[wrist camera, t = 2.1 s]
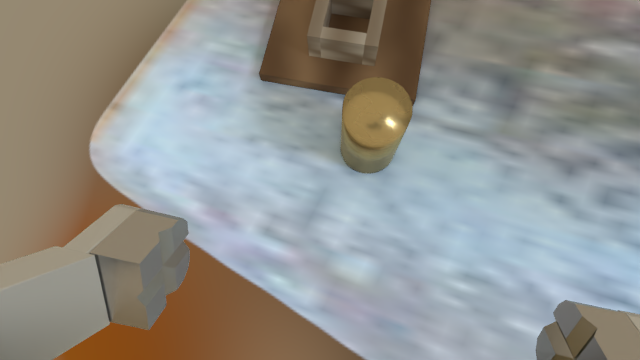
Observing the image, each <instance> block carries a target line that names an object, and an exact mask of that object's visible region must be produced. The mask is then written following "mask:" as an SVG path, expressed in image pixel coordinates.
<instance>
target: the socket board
mask: <svg viewBox="0 0 640 360" xmlns="http://www.w3.org/2000/svg"><path fill="white" fill-rule="evenodd" d="M430 4H431V0H280V3H279V6H278V10H277V13H276V17H275V20H274V24H273V27H272V31H271V34H270V38H269V41H268V45H267V48H266V51H265V55H264V58H263V62H262V65H261V69H260V72H259V75H260V78H261V80H263V81H268V82H274V83H280V84H286V85H292V86H298V87H304V88H309V89H315V90H321V91H327V92H333V93H339V94H345V95H346V94H347V92H348V91H349V89H350V88H351V87H352V86H353V85H355V84H356V83H357V82H359V81H361V80H364V79H367V78H373V77H381V78H386V79H390V80H392V81H394V82H396V83H398V84H399V85H400V86H402V87H403V88H404V89H405V91H406V92H407V93H408V95H409V97H410V99H411V102H412V106H413V105H414V102H415V100H416V93H417V87H418V81H419V74H420V68H421V61H422V55H423V49H424V42H425V36H426V29H427V23H428V16H429V10H430Z"/></svg>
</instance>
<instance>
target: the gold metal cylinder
mask: <svg viewBox="0 0 640 360" xmlns="http://www.w3.org/2000/svg"><path fill="white" fill-rule="evenodd" d="M411 117H412V102H411V99H410V97H409V95H408V93H407V92H406V91H405V89H404V88H403V87H402V86H400V85H399V84H398V83H396V82H394V81H392V80H390V79H386V78H381V77H373V78H367V79H364V80H361V81H359V82H357V83H356V84H355V85H353V86H352V87H351V88H350V89H349V91H348V92H347V94H346V96H345V98H344V101H343V110H342V129H341V154H342V157H343V159H344V161H345V162H346V164H347V165H348V166H349V167H351V168H352V169H353V170H355V171H358V172H361V173H376V172H379V171H381V170H383V169H384V168H385V167H387V166H388V165H389V163H390V162H391V160H392V159H393V156H394V154H395V152H396V150H397V148H398V146H399V144H400V141H401V139H402V137H403V135H404V133H405V131H406V129H407V126H408V124H409V122H410V120H411Z"/></svg>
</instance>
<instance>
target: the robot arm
mask: <svg viewBox="0 0 640 360" xmlns="http://www.w3.org/2000/svg"><path fill="white" fill-rule="evenodd" d="M187 235H188V224H187V221H186V220H185V219H183V218H180V217H175V216H171V215H167V214H163V213H159V212H154V211H150V210H146V209H140V208H136V207H132V206H127V205H123V204H121V205H115V206H114V207H112V208H111V209H110V210H109V211H107V212H106V213H105V214H104V215H102V216H101V217H100V218H99V219H98V220H96V221H95V222H94V223H93V224H91V225H90V226H89V227H88V228H86V229H85V230H84V231H83V232H82V233H80V234H79V235H78V236H77V237H75V238H74V239H73V240H72V241H70V242H69V243H68V244H67V245H65V246H64V247H63V248H61V247H57V246H55V247H52V248H48V249H45V250H42V251H40V252H36V253H33V254H30V255H27V256H24V257H21V258H18V259H15V260H12V261H9V262H6V263H3V264H0V360H52V359H54V358H56V357H57V356H59V355H61V354H62V353H64V352H65V351H67V350H69V349H70V348H72V347H74V346H75V345H77V344H78V343H80V342H82V341H83V340H85V339H86V338H88V337H90V336H91V335H93V334H95V333H96V332H98V331H99V330H101V329H103V328H104V327H106V326H107V325H109V324H110V322H113V323H118V324H123V325H128V326H132V327H137V328H142V329H147V330H149V329H150V328H151V326H152V325H153V324H154V322H155V321H156V319H157V318H158V316H159V315H160V314H161V312H162V311H163V309H164V308H165V306H166V297H165V296H166V295H167V294H169V293H171V292H173V291H175V290H177V289H178V287H179V286H180V284H181V283H182V281H183V280H184V277H185V274H186V272H187V269H188V265H189V258H190V256H189V255H190V254H189V248H188V247H187V246H186V244H185V243H184V242H183V240H184V239H185V238H186V236H187ZM553 314H554V317H555V320H556V322H554V323H552V324H550V325H547V326H545V327H544V328H543V329H542V331H541V333H540V335H539V336H538V338H537V346H536V356H537V360H640V314H635V313H630V312H624V311H619V310H618V311H615V310H611V309H607V308H602V307H597V306H592V305H587V304H582V303H578V302H573V301H568V300H565V301H563V302H562V303H560V304H559V305H558V306H557V308H556V309H555V311H554V312H553Z"/></svg>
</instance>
